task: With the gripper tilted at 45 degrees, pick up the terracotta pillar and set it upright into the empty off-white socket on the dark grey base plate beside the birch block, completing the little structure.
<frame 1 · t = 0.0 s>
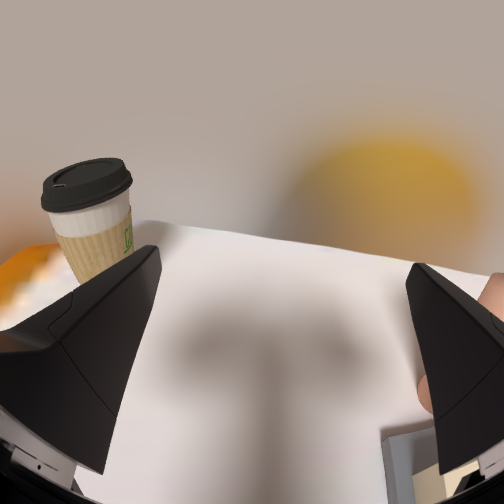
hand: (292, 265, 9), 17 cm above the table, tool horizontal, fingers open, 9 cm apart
base plate: (488, 466, 12), on the table
coffee cup: (113, 293, 31), on the table
pillar: (438, 393, 20), on the table
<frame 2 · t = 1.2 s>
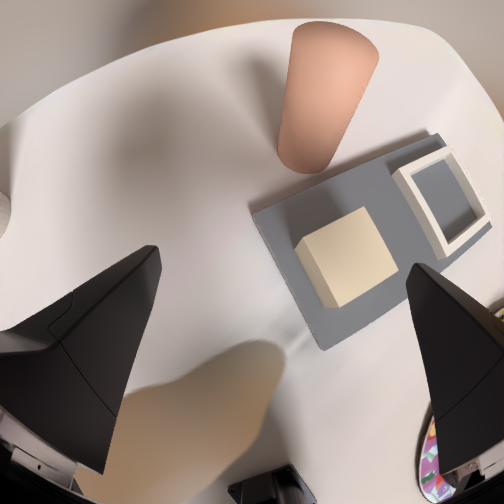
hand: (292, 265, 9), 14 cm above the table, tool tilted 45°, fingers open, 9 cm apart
base plate: (394, 224, 24), on the table
chocolate cake: (498, 409, 20), on the table
pillar: (305, 150, 25), on the table
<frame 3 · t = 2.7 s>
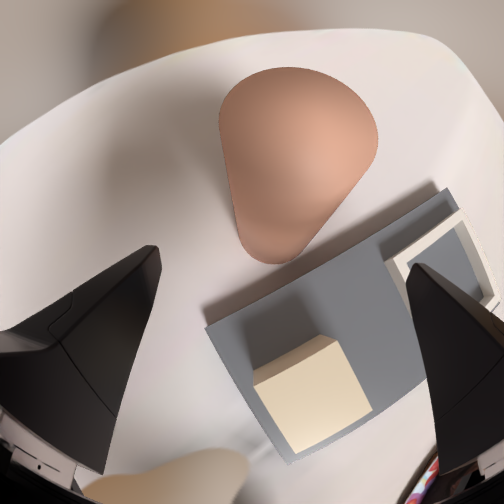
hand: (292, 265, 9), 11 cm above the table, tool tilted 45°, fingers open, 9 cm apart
base plate: (382, 319, 20), on the table
chocolate cake: (482, 474, 16), on the table
pillar: (274, 229, 21), on the table
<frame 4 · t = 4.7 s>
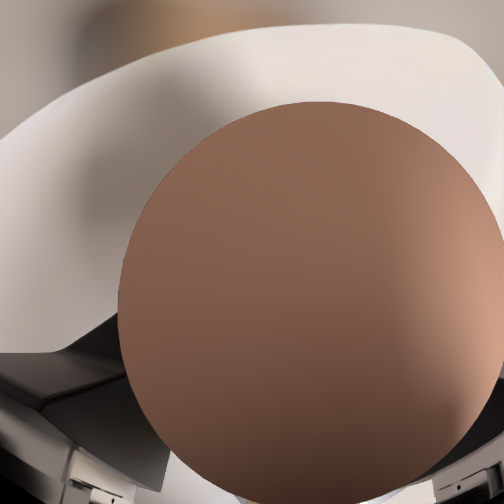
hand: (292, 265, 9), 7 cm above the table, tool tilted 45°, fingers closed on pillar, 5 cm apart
pillar: (274, 307, 15), on the table, touching gripper
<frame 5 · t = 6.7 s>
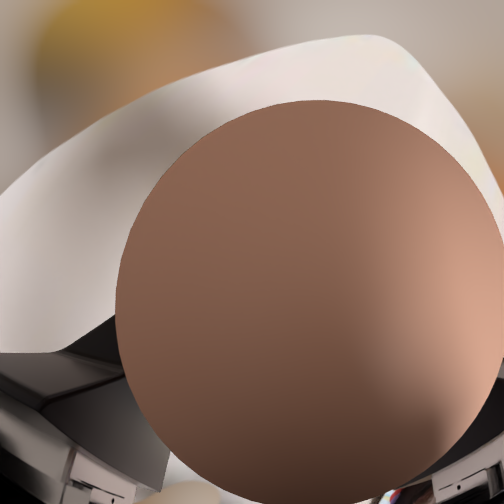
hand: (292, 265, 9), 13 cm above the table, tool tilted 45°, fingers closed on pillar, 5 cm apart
chocolate cake: (460, 480, 18), on the table
pillar: (274, 307, 16), point 7 cm above the table, touching gripper
when the fingers open (9 cm above the table, at t = 8.8 s): pillar stays where it is, resting on base plate.
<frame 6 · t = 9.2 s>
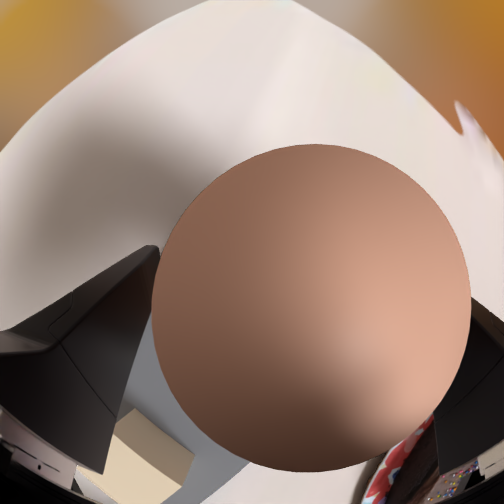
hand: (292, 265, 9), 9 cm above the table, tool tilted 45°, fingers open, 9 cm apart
base plate: (207, 372, 17), on the table
chocolate cake: (473, 458, 15), on the table
pillar: (272, 308, 17), point 2 cm above the table, touching base plate
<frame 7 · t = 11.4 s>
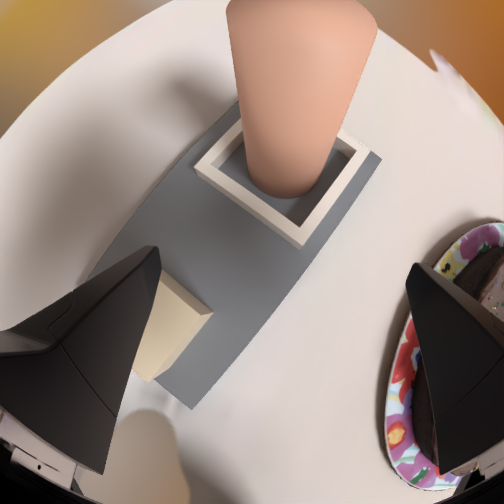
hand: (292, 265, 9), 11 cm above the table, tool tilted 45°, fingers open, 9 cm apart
base plate: (228, 230, 20), on the table
chocolate cake: (493, 365, 18), on the table
pillar: (284, 165, 20), point 2 cm above the table, touching base plate
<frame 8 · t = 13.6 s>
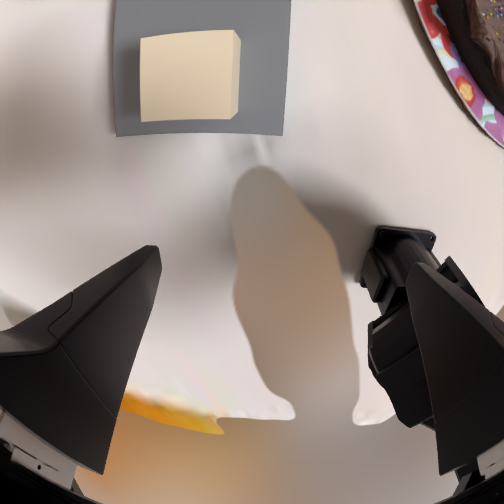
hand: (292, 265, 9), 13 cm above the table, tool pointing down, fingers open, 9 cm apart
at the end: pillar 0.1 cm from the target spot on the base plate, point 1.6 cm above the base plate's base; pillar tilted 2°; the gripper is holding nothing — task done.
